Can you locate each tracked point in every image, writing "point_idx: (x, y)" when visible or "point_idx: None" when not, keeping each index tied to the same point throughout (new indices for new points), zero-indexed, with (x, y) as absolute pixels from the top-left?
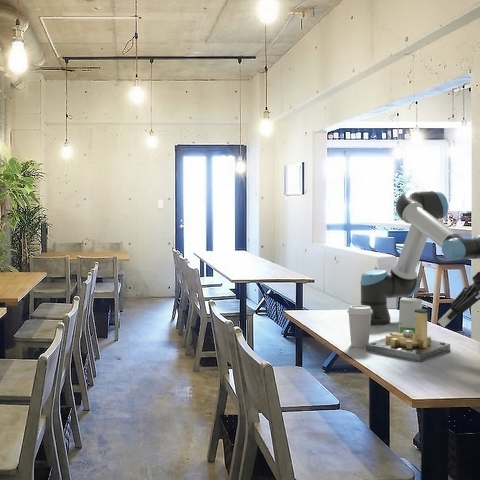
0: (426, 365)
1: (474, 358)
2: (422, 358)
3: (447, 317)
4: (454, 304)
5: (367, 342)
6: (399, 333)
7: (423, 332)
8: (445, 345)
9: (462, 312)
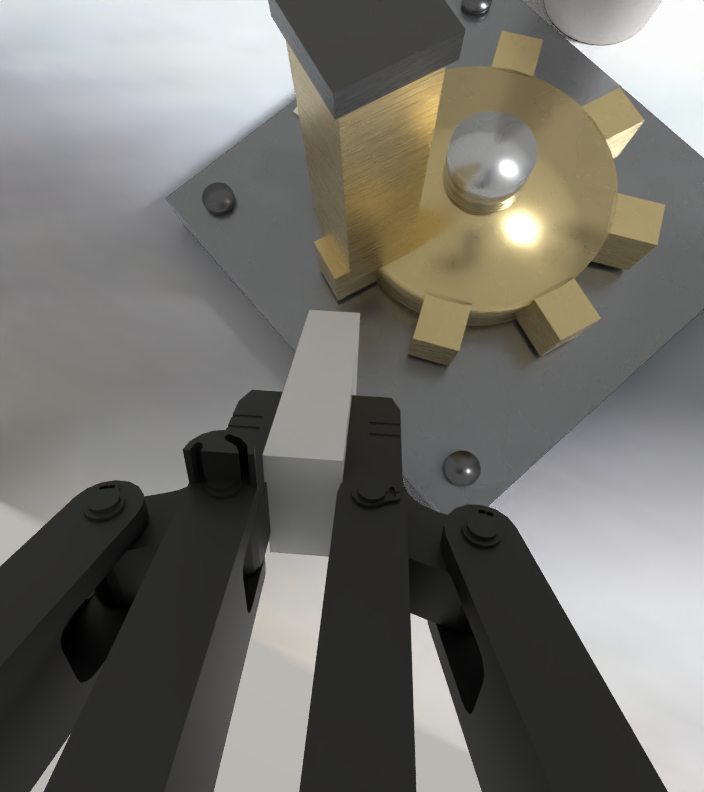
0: (113, 235)
1: None
2: (192, 232)
3: (263, 393)
4: (357, 569)
5: (571, 4)
6: (593, 148)
7: (323, 209)
8: (407, 470)
9: (90, 594)
